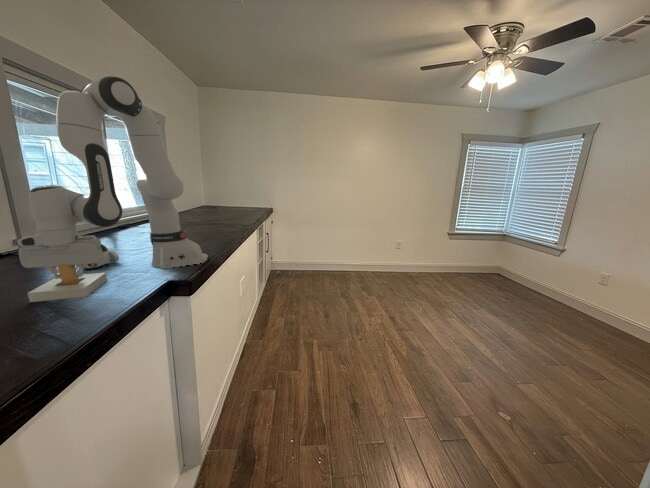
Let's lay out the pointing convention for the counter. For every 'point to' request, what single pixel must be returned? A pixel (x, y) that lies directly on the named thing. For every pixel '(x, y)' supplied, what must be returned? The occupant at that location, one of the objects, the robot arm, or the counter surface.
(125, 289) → the counter surface
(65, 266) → the amber upright block
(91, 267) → the spread jar
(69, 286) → the housing
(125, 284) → the counter surface
